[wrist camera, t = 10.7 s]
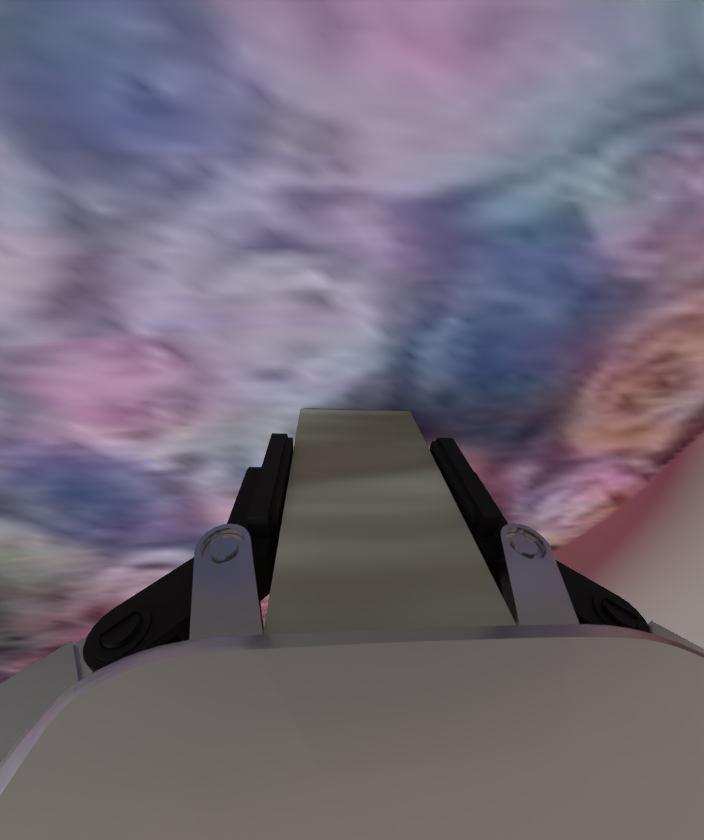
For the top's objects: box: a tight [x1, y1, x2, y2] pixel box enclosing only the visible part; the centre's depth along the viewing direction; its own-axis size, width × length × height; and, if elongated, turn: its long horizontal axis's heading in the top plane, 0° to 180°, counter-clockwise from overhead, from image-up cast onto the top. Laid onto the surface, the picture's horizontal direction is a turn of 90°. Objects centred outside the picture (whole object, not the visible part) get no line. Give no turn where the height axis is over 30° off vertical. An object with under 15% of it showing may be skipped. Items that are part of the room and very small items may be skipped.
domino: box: [263, 409, 516, 634], centre depth 10 cm, size 2×5×9 cm, turn 87°
